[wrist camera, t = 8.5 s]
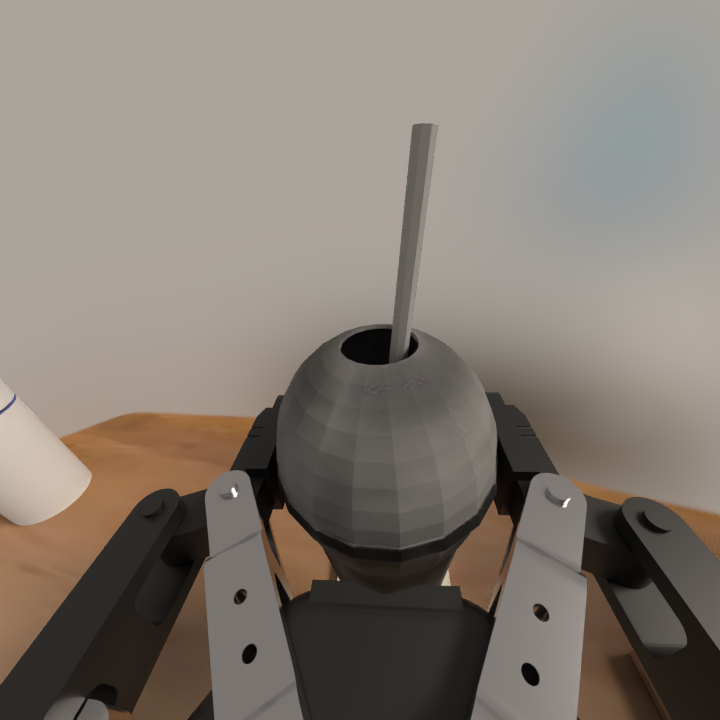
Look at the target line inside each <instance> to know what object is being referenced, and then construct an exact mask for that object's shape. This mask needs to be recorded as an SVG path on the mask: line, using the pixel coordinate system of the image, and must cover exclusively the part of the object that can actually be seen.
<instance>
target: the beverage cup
mask: <svg viewBox="0 0 720 720" xmlns="http://www.w3.org/2000/svg"><path fill="white" fill-rule="evenodd" d="M437 130H438V125H435V124H415V125H413V126H412V136H411V145H410V156H409V166H408V176H407V186H406V196H405V206H404V216H403V226H402V236H401V246H400V256H399V266H398V276H397V287H396V296H395V306H394V316H393V325H392V324H378V325H377V324H376V325H369V326H362V327H357V328H355V329H352V330H348V331H346V332H343V333H341V334H340V335H338V336H336V337H334V338H332V339H331V340H329V341H327V342H325V343H323V344H322V345H321V346H320V347H319V348H318V349H317V350H316V351H315V352H314V353H313V354H312V355H310V356H309V357H308V359H306V360H305V361H304V362H303V363H302V364H301V366H300V368H299V369H298V370H297V372H296V373H295V375H294V377H293V379H292V381H291V383H290V385H289V387H288V389H287V391H286V393H285V395H284V398H283V400H282V402H281V405H280V409H279V414H278V421H277V441H276V453H277V463H278V479H277V482H278V485H279V487H280V490H281V493H282V495H283V498H284V501H285V503H286V506H287V509H288V512H289V513H290V514H291V515H292V516H293V517H294V518H295V519H296V521H297V522H298V523H299V524H300V525H301V526H302V527H303V528H304V529H305V530H306V531H307V532H308V533H309V534H310V536H311V537H312V538H313V539H314V540H316V541H317V542H318V543H319V544H320V545H321V546H322V547H323V549H324V551H325V553H326V555H327V557H328V559H329V561H330V563H331V565H332V567H333V568H334V570H335V572H336V574H337V576H338V578H339V580H340V581H348V582H351V583H353V584H356V585H359V586H361V587H364V588H367V589H369V590H372V591H375V592H377V593H380V594H390V593H394V592H397V591H401V590H405V589H408V588H412V587H415V586H419V585H441V584H442V582H443V580H444V577H445V575H446V573H447V570H448V568H449V566H450V563H451V561H452V559H453V556H454V554H455V552H456V550H457V549H458V548H459V546H460V545H461V544H462V543H463V542H464V540H465V539H466V538H467V537H468V535H469V534H470V532H471V531H473V530H474V529H475V528H476V527H478V526H479V525H480V523H481V521H482V519H483V518H484V516H485V514H486V512H487V510H488V508H489V507H490V505H491V503H492V501H493V499H494V497H495V496H496V494H497V480H498V466H499V460H498V453H497V429H496V422H495V419H494V416H493V413H492V409H491V407H490V404H489V402H488V399H487V396H486V394H485V391H484V389H483V386H482V385H481V383H480V381H479V379H478V377H477V376H476V374H475V373H474V372H473V371H472V369H471V368H470V367H469V366H468V365H467V364H466V363H465V362H464V361H463V360H462V358H461V357H460V356H459V355H458V354H457V353H456V352H455V351H454V350H453V349H452V348H450V347H449V346H447V345H446V344H445V343H443V342H442V341H440V340H438V339H436V338H434V337H433V336H431V335H429V334H427V333H424V332H421V331H419V330H416V329H413V328H411V326H412V319H413V311H414V304H415V296H416V289H417V281H418V274H419V266H420V258H421V251H422V243H423V235H424V228H425V220H426V213H427V205H428V198H429V190H430V182H431V175H432V167H433V159H434V152H435V144H436V137H437Z"/></svg>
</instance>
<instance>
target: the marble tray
mask: <svg viewBox="0 0 720 720" xmlns="http://www.w3.org/2000/svg"><path fill="white" fill-rule="evenodd" d="M630 656H631V658H632V660H633V662H634V664H635V666H636V668H637V670H638V672H639V674H640V676H641V678H642V680H643V682H644V684H645V686H646V688H647V690H648V692H649V694H650V696H651V698H652V700H653V702H654V704H655V706H656V708H657V710H658V712H659V714H660V716H661V718H662V720H671V718H670V716H669V714H668V712H667V710H666V708H665V707H664V705H663V703H662V701H661V699H660V697H659V695H658V694H657V692H656V690H655V688H654V686H653V684H652V682H651V681H650V679H649V677H648V675H647V673H646V671H645V669H644V668H643V666H642V664H641V662H640V660H639V658H638V656H637V655H636V653H635V651H633V652H631V653H630Z"/></svg>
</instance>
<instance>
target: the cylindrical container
mask: <svg viewBox="0 0 720 720" xmlns="http://www.w3.org/2000/svg"><path fill="white" fill-rule="evenodd" d="M91 478H92V475H91V472H90V470H89V469H88V468H87V467H86V466H85V465H84V464H83V463H82V462H81V461H80V460H79V459H78V458H77V457H76V456H75V455H74V454H73V453H72V452H71V451H70V450H69V449H68V448H67V447H66V446H65V445H64V444H63V443H62V442H61V441H60V440H59V439H58V438H57V437H56V436H55V435H54V434H53V433H52V432H51V430H49V428H48V427H47V426H46V425H45V424H44V423H43V422H42V421H41V420H40V419H39V418H38V417H37V416H36V415H35V414H34V413H33V412H32V411H31V410H30V409H29V408H28V407H27V406H26V405H25V404H24V403H23V402H22V401H21V400H20V399H19V398H18V397H17V396H16V394H14V393H13V391H12V390H11V389H10V388H9V387H8V386H7V385H6V384H5V383H4V382H3V381H2V380H1V379H0V514H1V515H3V516H4V517H6V518H7V519H9V520H10V521H12V522H13V523H14V524H16V525H19V526H29V525H34V524H37V523H40V522H43V521H45V520H47V519H49V518H51V517H53V516H55V515H57V514H58V513H60V512H61V511H63V510H65V509H66V508H67V507H69V506H70V505H71V504H72V503H74V502H75V501H76V500H77V499H78V498H79V497H80V496H81V495H82V494H83V493H84V491H85V490H86V489H87V487H88V486H89V484H90V481H91Z"/></svg>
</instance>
